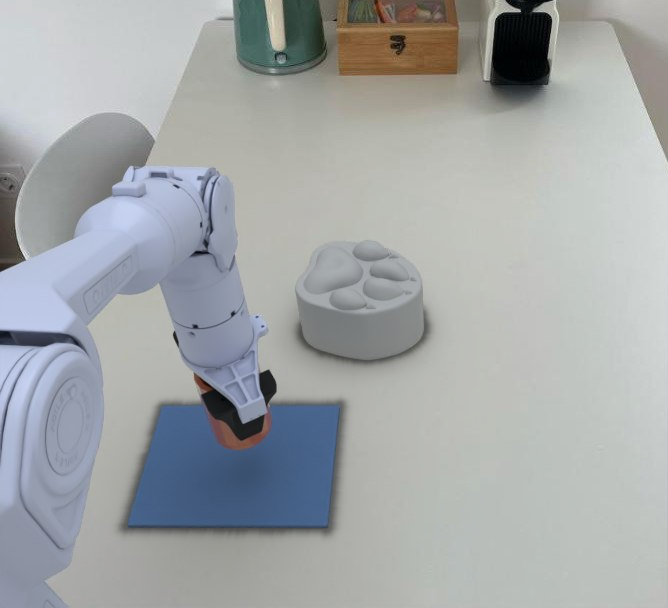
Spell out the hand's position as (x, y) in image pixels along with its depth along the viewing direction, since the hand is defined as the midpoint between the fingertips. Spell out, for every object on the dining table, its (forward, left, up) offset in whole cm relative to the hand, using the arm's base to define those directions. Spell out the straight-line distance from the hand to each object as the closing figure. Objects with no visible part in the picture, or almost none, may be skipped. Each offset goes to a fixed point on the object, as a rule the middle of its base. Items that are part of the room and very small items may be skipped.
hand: (237, 408), depth 70 cm
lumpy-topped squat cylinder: (+21, 0, -10) cm, 23 cm away
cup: (0, 0, -2) cm, 2 cm away
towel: (0, +1, -9) cm, 9 cm away
